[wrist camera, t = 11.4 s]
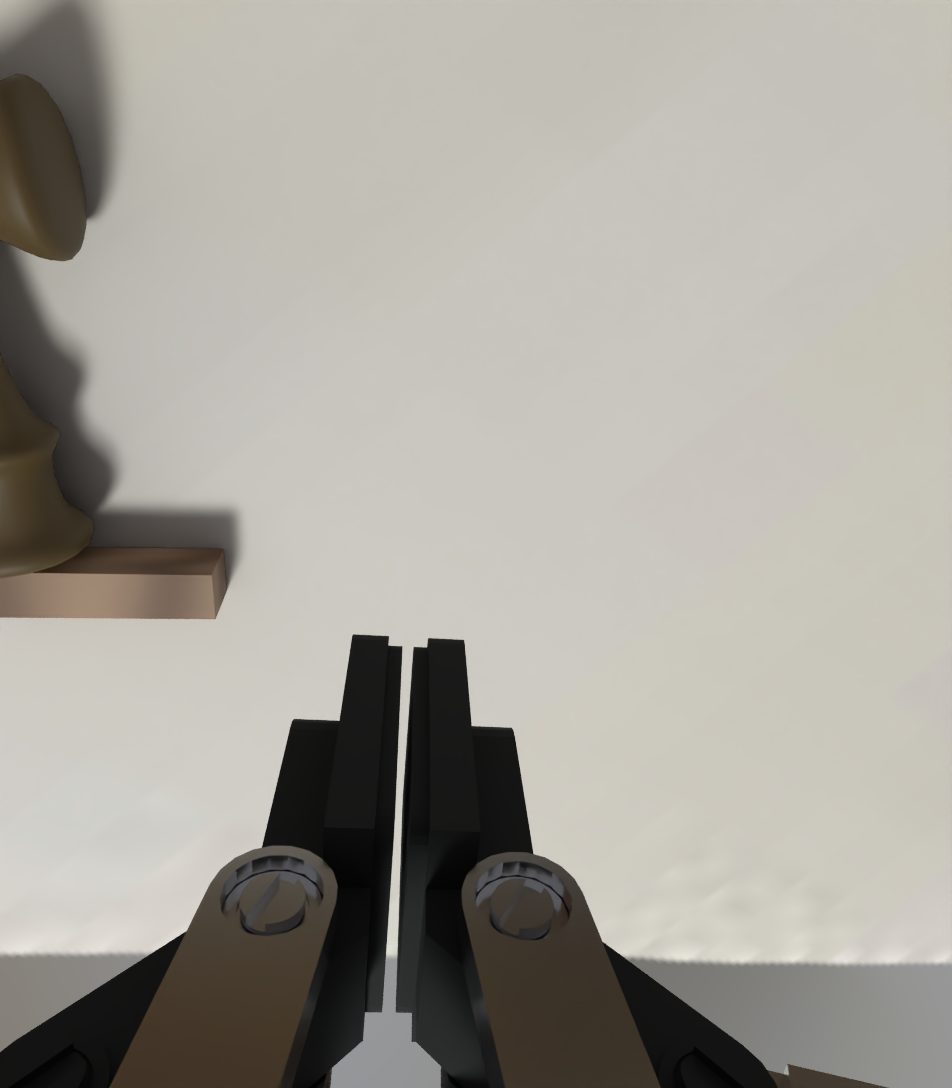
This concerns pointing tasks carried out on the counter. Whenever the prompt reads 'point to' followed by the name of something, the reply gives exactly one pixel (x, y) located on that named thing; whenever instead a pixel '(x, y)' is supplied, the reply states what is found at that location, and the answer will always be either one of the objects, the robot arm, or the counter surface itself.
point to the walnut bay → (121, 585)
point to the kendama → (3, 416)
